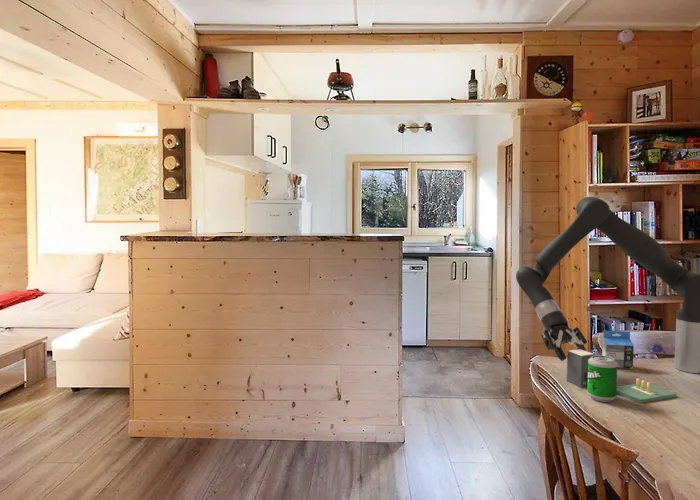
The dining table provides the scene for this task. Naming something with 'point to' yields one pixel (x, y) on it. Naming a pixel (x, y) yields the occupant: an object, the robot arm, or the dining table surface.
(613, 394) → the soda can
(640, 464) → the dining table surface
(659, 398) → the board
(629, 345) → the blue retail box
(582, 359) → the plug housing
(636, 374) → the dining table surface
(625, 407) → the dining table surface
